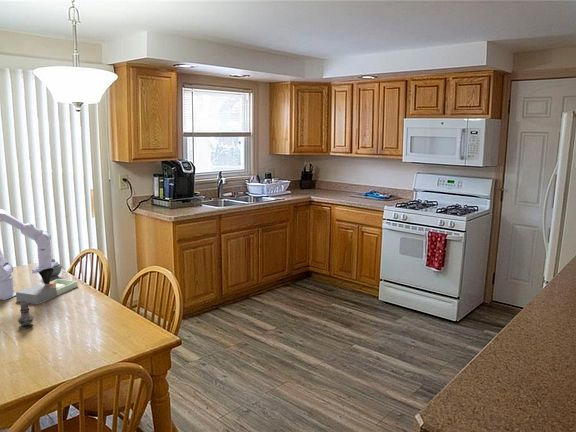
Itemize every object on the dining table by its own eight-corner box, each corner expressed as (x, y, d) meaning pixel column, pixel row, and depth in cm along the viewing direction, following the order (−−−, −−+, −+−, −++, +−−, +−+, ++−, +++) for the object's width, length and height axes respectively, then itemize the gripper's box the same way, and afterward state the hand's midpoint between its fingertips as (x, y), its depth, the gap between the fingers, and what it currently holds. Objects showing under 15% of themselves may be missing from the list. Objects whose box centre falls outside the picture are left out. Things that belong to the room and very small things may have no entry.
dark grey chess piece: (27, 330, 192) (24, 302, 190) (14, 328, 194) (12, 301, 191) (37, 324, 198) (35, 297, 196) (25, 323, 199) (22, 296, 197)
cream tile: (56, 283, 242) (57, 287, 243) (49, 286, 237) (49, 290, 238) (64, 284, 241) (65, 288, 241) (57, 287, 236) (57, 291, 236)
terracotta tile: (44, 282, 234) (47, 281, 236) (45, 292, 235) (48, 290, 237) (52, 283, 232) (55, 282, 234) (53, 293, 233) (56, 292, 235)
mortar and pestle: (41, 277, 259) (40, 255, 257) (60, 274, 264) (58, 253, 262) (44, 282, 250) (42, 260, 248) (63, 279, 255) (62, 258, 253)
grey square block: (16, 301, 223) (15, 292, 222) (36, 293, 235) (36, 284, 234) (37, 304, 220) (36, 295, 219) (56, 296, 231) (55, 287, 230)
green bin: (37, 292, 235) (37, 287, 234) (58, 284, 248) (58, 278, 248) (57, 295, 232) (56, 289, 231) (77, 286, 245) (77, 281, 244)
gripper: (39, 261, 222) (41, 289, 224) (62, 253, 236) (64, 279, 238) (27, 260, 224) (29, 287, 226) (51, 252, 238) (52, 278, 240)
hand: (46, 283), depth 232 cm, fingers closed
